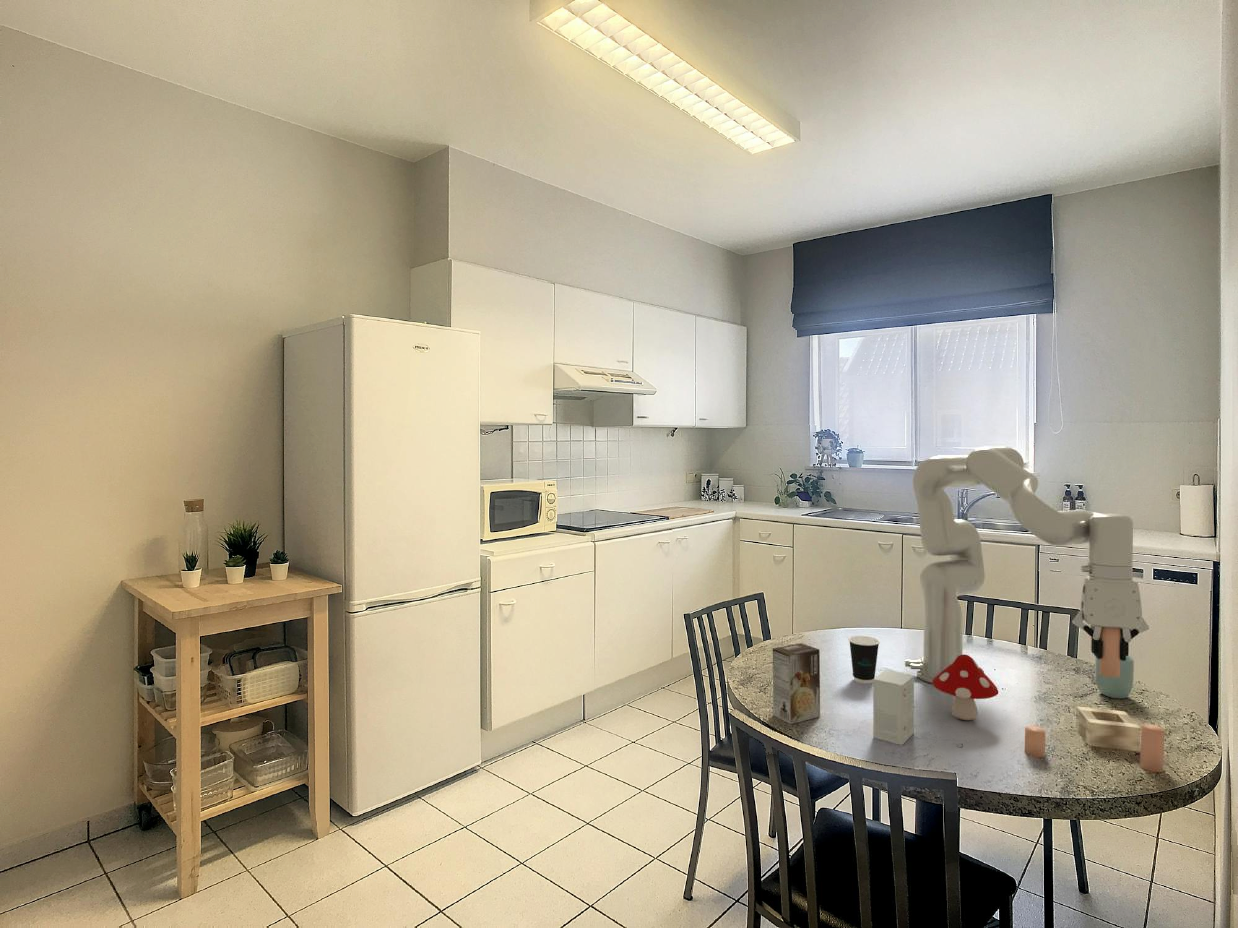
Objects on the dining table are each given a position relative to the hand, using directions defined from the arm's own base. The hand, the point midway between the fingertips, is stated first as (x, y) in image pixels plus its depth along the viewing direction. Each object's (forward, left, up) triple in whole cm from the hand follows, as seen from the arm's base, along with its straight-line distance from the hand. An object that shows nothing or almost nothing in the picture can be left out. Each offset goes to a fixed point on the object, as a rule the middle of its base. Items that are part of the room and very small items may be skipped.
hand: (1109, 657), depth 147 cm
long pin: (0, 0, -4) cm, 4 cm away
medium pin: (+4, -12, -18) cm, 22 cm away
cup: (+10, +30, -18) cm, 37 cm away
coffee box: (-64, -8, -18) cm, 67 cm away
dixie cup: (-49, +22, -18) cm, 57 cm away
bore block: (0, 0, -18) cm, 18 cm away
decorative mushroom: (-27, +3, -18) cm, 33 cm away
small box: (-43, -12, -18) cm, 48 cm away
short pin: (-16, -12, -18) cm, 27 cm away
